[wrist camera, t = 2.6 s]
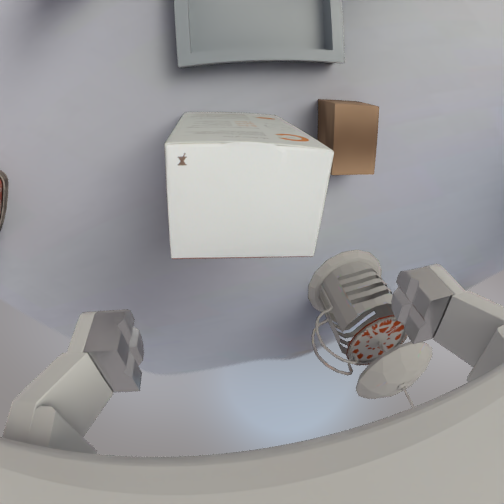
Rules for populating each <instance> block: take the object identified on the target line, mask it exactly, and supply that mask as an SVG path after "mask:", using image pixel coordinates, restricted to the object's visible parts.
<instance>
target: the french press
mask: <svg viewBox="0 0 504 504" xmlns="http://www.w3.org/2000/svg"><path fill="white" fill-rule="evenodd" d="M381 273H382V270H381V267H380V263H379V260H378V259H376V258H375V257H374V256H373V255H372V254H371V253H369V252H365V251H360V250H353V251H347V252H342V253H340V254H338V255H336V256H334V257H332V258H330V259H329V260H327V261H326V262H325V263H324V264H323V265H322V266H321V267H320V268H319V269H318V270H317V271H316V272H315V273H314V275H313V277H312V279H311V282H310V284H309V286H308V299H309V300H310V302H311V304H312V306H313V308H315V309H317V310H318V311H320V312H322V313H321V314H320V315H319V316H318V317H317V319H316V323H315V328H314V329H313V332H312V345H313V348H314V352H315V354H316V355H317V357H318V359H319V360H320V361H321V362H322V363H323V364H324V365H326V366H327V367H328V368H330V369H332V370H333V371H335V372H338V373H341V374H345V375H351V374H352V372H353V370H352V368H351V365H350V363H351V364H356V365H368V366H367V368H366V369H365V370H364V371H363V372H362V374H361V375H360V377H359V380H358V383H357V386H356V391H357V393H358V395H359V396H361V397H364V398H368V399H376V398H384V397H391V396H394V395H396V394H398V393H400V392H401V391H403V390H404V392H405V394H406V396H407V398H408V400H409V402H410V404H411V406H412V408H413V407H414V405H413V403H412V401H411V399H410V397H409V395H408V393H407V391H406V389H407V388H409V387H410V386H411V385H413V384H414V382H415V381H416V380H417V379H418V378H419V377H420V376H421V375H422V373H423V372H424V371H425V370H426V368H427V366H428V364H429V362H430V360H431V357H432V347H431V346H429V345H428V344H427V343H425V342H419V343H416V344H413V343H412V342H408V343H405V344H403V343H404V341H405V340H406V338H407V334H406V333H405V331H404V324H403V323H401V322H399V321H398V320H397V319H396V317H395V316H394V314H393V311H392V304H391V300H392V296H393V295H392V292H391V291H390V289H389V288H388V287H387V285H386V284H385V282H384V281H383V280H382V278H381ZM383 283H384V284H385V285H384V284H383ZM388 290H389V291H390V293H389V291H388ZM373 311H375V313H376V314H375V315H373V316H372V317H370V318H369V319H367V320H366V321H365V322H363V323H362V324H361V325H360V326H359V327H357V328H356V329H355V330H354V331H353V332H351V333H346V334H343V331H344V330H349V329H350V328H352V327H353V326H354V325H355V324H357V323H358V322H359V321H360V320H362V319H363V318H364V317H365V316H367V315H368V314H370V313H371V312H373ZM363 312H364V313H363ZM323 314H325V316H326V318H327V319H326V320H324V321H323V322H321V323H319V318H320V317H321V316H322V315H323ZM360 314H361V315H360ZM358 315H360V316H358ZM357 316H358V317H357ZM356 317H357V318H356ZM355 318H356V319H355ZM377 318H378V319H377ZM354 319H355V320H354ZM375 319H376V320H375ZM332 320H333V321H335V322H337V323H338V325H339V326H338V325H336V324H334V323H333V322H332ZM353 320H354V321H353ZM352 321H353V322H352ZM326 322H329V324H330V326H331V329H332V331H333V333H334V335H335V338H336V340H337V342H338V344H339V346H340V349H341V351H342V353H344V354H346V356H347V358H348V360H346V359H343V358H341V357H340V356H337V355H336V354H334V353H333V352H331V350H330V349H328V348H327V347H326V346H325V345H324V343H323V341H322V339H321V337H320V334H319V332H318V327H319V326H321V325H323V324H324V323H326ZM318 323H319V324H318ZM349 323H350V324H349ZM335 327H336V328H338V329H340V330H341V331H342V333H340V332H338V331H337V330H336V328H335ZM315 331H316V334H317V336H318V339H319V341H320V343H321V345H322V346H323V347H324V348H325V349H326V350H327V351H328V352H329V353H331V354H332V355H333V356H334V357H336V358H338V359H339V360H341V361H343V362H347V363H348V366H349V370H350V372H344V371H339V370H337V369H336V368H334V367H332V366H330V365H329V364H327V363H326V362H325V361H324V360H323V359H322V358H321V357H320V356H319V354H318V352H317V349H316V346H315V343H314V335H315ZM339 335H340V336H342V337H344V338H349V337H353V336H354V337H353V338H352V340H351V341H348V342H346V341H344V340H342V339H340V337H339ZM340 342H341V343H343V344H345V345H347V346H348V349H347V348H345V347H343V346H342V345H341V344H340Z"/></svg>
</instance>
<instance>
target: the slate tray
mask: <svg viewBox="0 0 504 504" xmlns="http://www.w3.org/2000/svg"><path fill="white" fill-rule="evenodd" d="M174 12H175V29H176V45H177V58H178V67H179V68H186V67H194V66H203V65H213V64H225V63H240V62H269V61H291V62H320V63H345V57H344V31H343V14H342V0H174Z"/></svg>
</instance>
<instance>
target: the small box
mask: <svg viewBox="0 0 504 504" xmlns="http://www.w3.org/2000/svg"><path fill="white" fill-rule="evenodd" d="M164 149H165V170H166V190H167V207H168V222H169V236H170V250H171V258H172V259H198V258H264V257H313V256H314V252H315V247H316V242H317V237H318V232H319V228H320V223H321V218H322V213H323V208H324V203H325V198H326V193H327V188H328V183H329V177H330V172H331V167H332V161H333V156H334V151H333V150H332V149H330V148H329V147H327V146H325V145H324V144H322V143H321V142H319V141H318V140H316V139H314V138H313V137H311V136H310V135H308V134H306V133H305V132H303V131H301V130H300V129H298V128H296V127H295V126H293V125H291V124H290V123H288V122H286V121H284V120H283V119H281V118H279V117H278V116H276V115H268V114H254V113H232V112H186V113H184V114H183V116H182V117H181V119H180V120H179V122H178V123H177V125H176V127H175V128H174V130H173V131H172V133H171V134H170V136H169V138H168V139H167V141H166V142H165V144H164Z"/></svg>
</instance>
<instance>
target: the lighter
mask: <svg viewBox="0 0 504 504" xmlns="http://www.w3.org/2000/svg"><path fill="white" fill-rule="evenodd" d="M7 199H8V178H7V176H6V174H5V173H4V172H3V171H1V170H0V231H1V228H2V225H3V222H4V218H5V213H6V208H7Z"/></svg>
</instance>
